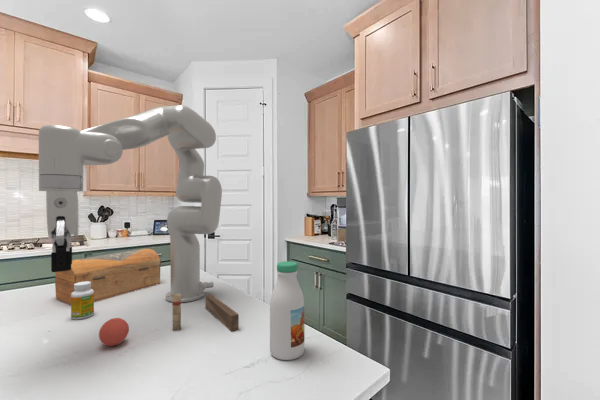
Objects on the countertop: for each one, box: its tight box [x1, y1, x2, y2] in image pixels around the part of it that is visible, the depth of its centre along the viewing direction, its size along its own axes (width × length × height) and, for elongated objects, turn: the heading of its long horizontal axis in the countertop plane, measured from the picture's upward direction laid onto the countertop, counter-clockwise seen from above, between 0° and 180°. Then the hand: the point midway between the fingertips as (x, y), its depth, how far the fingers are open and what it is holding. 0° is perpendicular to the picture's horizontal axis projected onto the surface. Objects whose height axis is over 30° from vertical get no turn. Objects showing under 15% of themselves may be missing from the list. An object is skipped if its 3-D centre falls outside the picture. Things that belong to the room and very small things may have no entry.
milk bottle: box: [269, 261, 306, 361], centre depth 67 cm, size 8×8×20 cm
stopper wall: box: [205, 294, 240, 332], centre depth 85 cm, size 2×20×4 cm, turn 36°
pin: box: [171, 294, 182, 331], centre depth 78 cm, size 2×2×9 cm
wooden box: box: [54, 248, 162, 306], centre depth 111 cm, size 30×16×14 cm, turn 149°
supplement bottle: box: [70, 281, 95, 321], centre depth 87 cm, size 5×5×10 cm
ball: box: [98, 317, 130, 347], centre depth 70 cm, size 6×6×6 cm
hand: (62, 267), depth 64 cm, fingers open, 5 cm apart
